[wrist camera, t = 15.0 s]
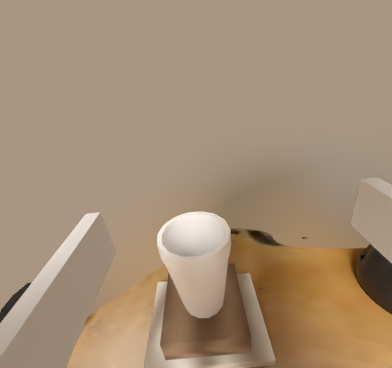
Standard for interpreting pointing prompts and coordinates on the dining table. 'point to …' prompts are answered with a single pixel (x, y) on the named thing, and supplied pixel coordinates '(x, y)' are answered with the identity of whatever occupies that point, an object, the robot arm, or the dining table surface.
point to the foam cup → (197, 259)
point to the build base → (216, 362)
